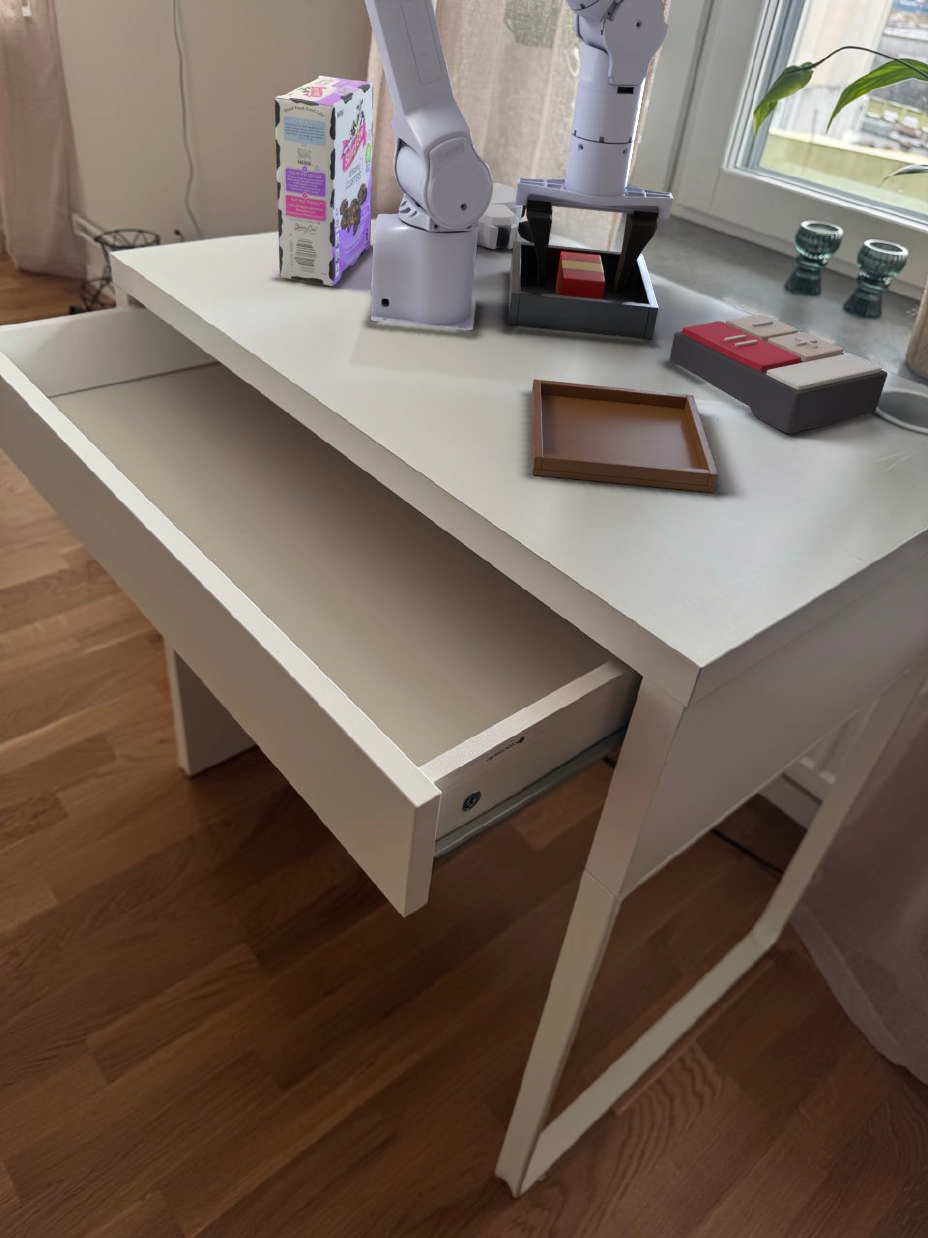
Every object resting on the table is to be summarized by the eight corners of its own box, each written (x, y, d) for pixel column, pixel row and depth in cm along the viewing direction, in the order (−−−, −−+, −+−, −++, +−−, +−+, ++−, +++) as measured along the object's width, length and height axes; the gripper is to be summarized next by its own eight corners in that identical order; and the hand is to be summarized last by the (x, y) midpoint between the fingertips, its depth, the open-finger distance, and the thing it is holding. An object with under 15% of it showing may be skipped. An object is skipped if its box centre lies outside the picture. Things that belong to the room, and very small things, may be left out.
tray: (532, 474, 70) (534, 456, 69) (531, 395, 80) (533, 378, 79) (713, 492, 70) (718, 474, 69) (689, 411, 80) (693, 394, 79)
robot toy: (553, 265, 109) (513, 215, 120) (560, 225, 106) (518, 177, 117) (448, 266, 106) (417, 214, 116) (452, 225, 103) (419, 175, 113)
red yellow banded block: (557, 315, 93) (563, 277, 91) (555, 286, 100) (560, 250, 97) (599, 319, 93) (605, 281, 91) (594, 290, 100) (600, 254, 97)
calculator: (762, 308, 90) (893, 363, 80) (751, 353, 93) (877, 412, 83) (673, 323, 85) (801, 384, 75) (665, 370, 88) (787, 435, 78)
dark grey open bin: (507, 330, 91) (511, 292, 88) (509, 275, 103) (513, 240, 101) (650, 345, 91) (658, 307, 89) (636, 288, 103) (642, 254, 101)
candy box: (334, 288, 96) (334, 103, 85) (277, 279, 96) (270, 95, 86) (372, 247, 106) (376, 79, 96) (321, 239, 107) (319, 71, 97)
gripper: (677, 134, 90) (648, 279, 99) (523, 118, 90) (507, 265, 99) (687, 152, 85) (655, 304, 93) (522, 135, 85) (506, 289, 93)
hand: (579, 286), depth 95 cm, fingers open, 7 cm apart
